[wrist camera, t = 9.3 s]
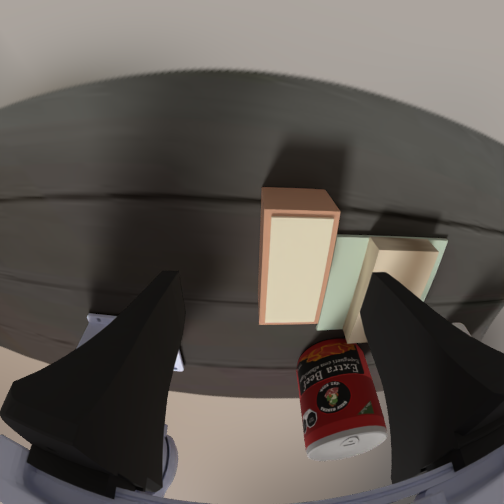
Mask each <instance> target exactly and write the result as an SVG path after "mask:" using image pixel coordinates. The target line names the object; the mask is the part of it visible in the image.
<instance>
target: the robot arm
mask: <svg viewBox="0 0 504 504" xmlns="http://www.w3.org/2000/svg"><path fill="white" fill-rule="evenodd" d="M185 314H186V312H185V306H184V301H183V295H182V289H181V283H180V277H179V271H162V272H161V273H160V274H159V275H158V276H157V277H156V278H155V279H154V280H153V281H152V282H151V283H150V284H149V285H148V286H147V287H146V289H145V290H144V291H143V292H142V293H141V294H140V295H139V296H138V297H137V298H136V299H135V300H134V301H133V302H132V303H131V304H130V305H129V306H128V307H127V308H126V309H125V310H124V311H123V312H121V313H120V314H119V315H118V316H111V315H101V314H92V313H89V314H88V316H87V319H88V321H89V324H88V326H87V328H86V330H85V332H84V334H83V336H82V338H81V340H80V342H79V344H78V346H77V348H76V349H75V350H74V351H72V352H71V353H69V354H68V355H66V356H65V357H63V358H61V359H59V360H58V361H56V362H54V363H52V364H51V365H49V366H47V367H45V368H43V369H41V370H39V371H37V372H35V373H33V374H30V375H28V376H26V377H24V378H21V379H19V380H16V381H14V382H13V384H12V386H11V388H10V390H9V392H8V394H7V397H6V399H5V401H4V403H3V405H2V408H1V410H0V416H1V418H2V420H3V421H4V422H5V423H6V424H7V425H8V426H10V427H11V428H12V429H13V430H14V431H16V432H17V433H18V434H19V435H20V436H22V437H23V438H24V439H26V440H27V441H28V442H30V443H31V444H32V446H31V449H30V450H28V449H27V448H25V447H23V446H22V445H20V444H18V443H16V442H14V441H13V440H11V439H9V438H7V437H6V436H4V435H0V502H2V503H3V504H208V503H197V502H188V501H181V500H174V499H167V498H163V497H164V494H165V492H166V490H167V489H168V487H169V486H170V485H171V483H172V481H173V479H174V477H175V474H176V470H177V465H178V451H177V448H176V445H175V443H174V440H173V438H172V437H171V436H169V435H166V433H167V427H168V426H167V425H166V424H165V414H166V405H167V397H168V391H169V386H170V382H171V378H172V374H173V371H183V370H184V364H183V361H182V357H181V353H180V349H179V347H180V343H181V340H182V335H183V329H184V321H185ZM360 316H361V320H362V325H363V329H364V333H365V336H366V339H367V342H368V345H369V347H370V350H371V353H372V356H373V358H374V361H375V364H376V367H377V370H378V372H379V375H380V378H381V382H382V385H383V389H384V393H385V398H386V403H387V409H388V416H389V424H390V434H391V447H392V470H391V480H392V485H388V486H385V487H381V488H377V489H374V490H370V491H366V492H361V493H357V494H352V495H348V496H343V497H337V498H332V499H325V500H318V501H311V502H302V503H291V504H390V503H393V502H396V501H399V500H402V499H405V498H407V497H411V496H413V495H416V494H418V493H419V494H418V495H417V496H416V498H415V500H414V501H413V502H412V503H410V504H504V353H502V352H500V351H497V350H495V349H493V348H491V347H489V346H487V345H485V344H483V343H482V342H480V341H478V340H476V339H475V338H473V337H471V336H470V335H468V334H466V333H465V332H463V331H462V330H460V329H459V328H457V327H456V326H454V325H453V324H451V323H450V322H449V321H447V320H446V319H445V318H443V317H442V316H441V315H439V314H438V313H437V312H435V311H434V310H433V309H432V308H430V307H429V306H428V305H427V304H425V303H424V302H423V301H422V300H421V299H419V298H418V297H417V296H416V295H415V294H413V293H412V292H411V291H410V290H409V289H407V288H406V287H405V286H404V285H403V284H401V283H400V282H399V281H398V280H396V279H395V278H394V277H392V276H391V275H390V274H388V273H387V272H372V275H371V278H370V281H369V285H368V288H367V291H366V294H365V297H364V300H363V303H362V306H361V309H360Z"/></svg>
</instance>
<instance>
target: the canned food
mask: <svg viewBox="0 0 504 504" xmlns="http://www.w3.org/2000/svg"><path fill="white" fill-rule="evenodd" d="M296 372H297V380H298V388H299V396H300V405H301V413H302V422H303V430H304V441H305V447H306V452H307V456H308V458H309V459H312V460H317V461H333V460H340V459H345V458H349V457H353V456H356V455H359V454H362V453H364V452H367V451H369V450H371V449H373V448H375V447H377V446H378V445H379V444H381V443H382V442H383V441H385V439H386V438H387V429H386V425H385V421H384V417H383V414H382V410H381V407H380V403H379V400H378V397H377V393H376V390H375V387H374V384H373V381H372V378H371V374H370V371H369V368H368V365H367V362H366V359H365V356H364V353H363V351H362V350H361V348H360V347H359V346H358V345H357V344H356V343H351V344H347V341H346V339H330V340H326V341H322V342H320V343H317V344H315V345H313V346H311V347H310V348H309V349H307V350H306V351H305V352H304V353H303V354H302V355H301V357H300V358H299V361H298V364H297V370H296Z"/></svg>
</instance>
